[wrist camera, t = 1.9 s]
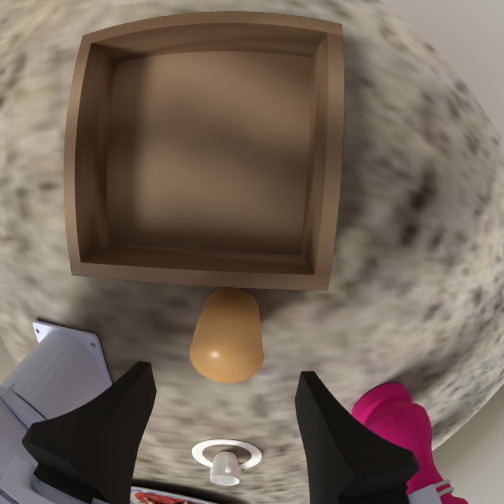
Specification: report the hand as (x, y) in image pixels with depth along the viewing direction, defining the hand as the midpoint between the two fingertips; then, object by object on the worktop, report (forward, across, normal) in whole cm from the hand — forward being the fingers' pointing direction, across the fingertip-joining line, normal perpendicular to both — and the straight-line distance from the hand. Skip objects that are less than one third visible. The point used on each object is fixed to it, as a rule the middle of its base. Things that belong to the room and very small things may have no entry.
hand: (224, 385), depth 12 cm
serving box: (+7, +2, -11) cm, 13 cm away
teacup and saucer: (+8, +3, +21) cm, 23 cm away
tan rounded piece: (+7, 0, 0) cm, 7 cm away
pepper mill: (+7, -15, +11) cm, 20 cm away
